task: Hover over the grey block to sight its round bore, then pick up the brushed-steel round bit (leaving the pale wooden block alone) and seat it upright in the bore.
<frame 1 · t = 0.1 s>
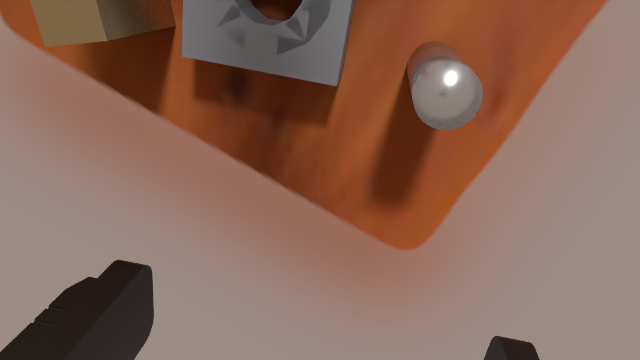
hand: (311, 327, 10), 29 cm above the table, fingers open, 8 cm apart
pale wooden block: (144, 0, 37), on the table
round bit: (432, 67, 36), on the table
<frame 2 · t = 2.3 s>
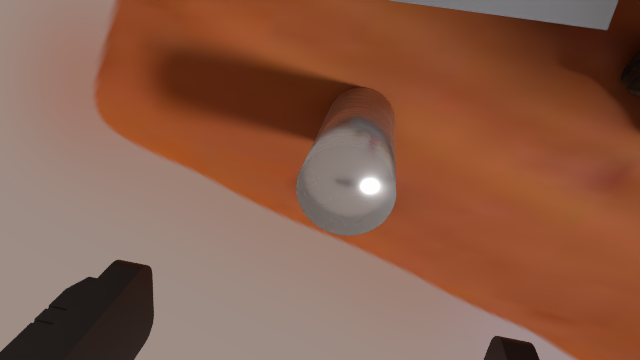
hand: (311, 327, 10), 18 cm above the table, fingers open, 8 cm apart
round bit: (360, 120, 27), on the table
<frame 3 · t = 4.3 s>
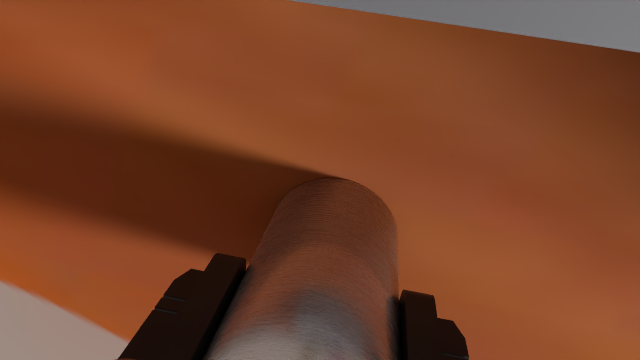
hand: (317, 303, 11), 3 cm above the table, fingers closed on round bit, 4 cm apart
round bit: (333, 235, 14), on the table, touching gripper
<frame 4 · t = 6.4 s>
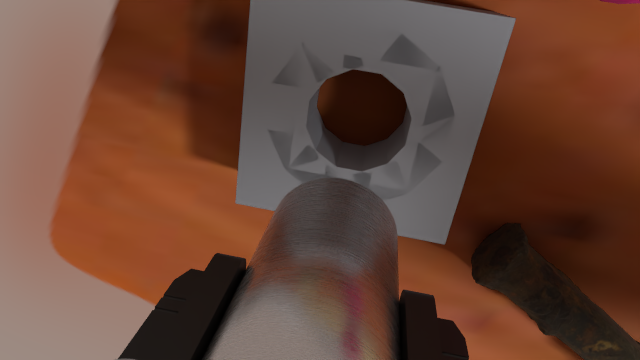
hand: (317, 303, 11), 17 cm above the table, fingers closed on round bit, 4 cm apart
hand tool: (588, 308, 30), on the table
bore block: (361, 102, 26), on the table
round bit: (333, 235, 14), point 14 cm above the table, touching gripper
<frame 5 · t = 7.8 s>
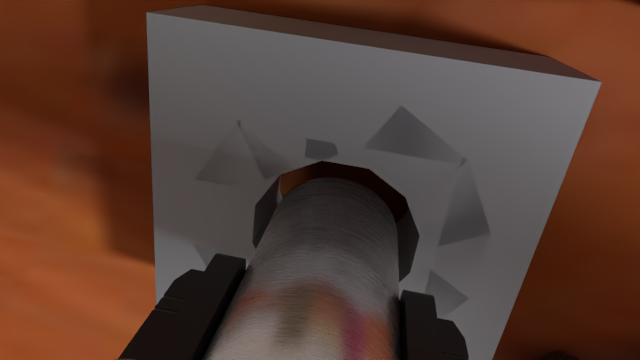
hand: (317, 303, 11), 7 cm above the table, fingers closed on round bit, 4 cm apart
bore block: (344, 186, 18), on the table
round bit: (333, 234, 14), point 4 cm above the table, touching gripper
when the fingers open (5 cm above the table, at t = 8.6 s): round bit drops 1 cm, resting in bore block.
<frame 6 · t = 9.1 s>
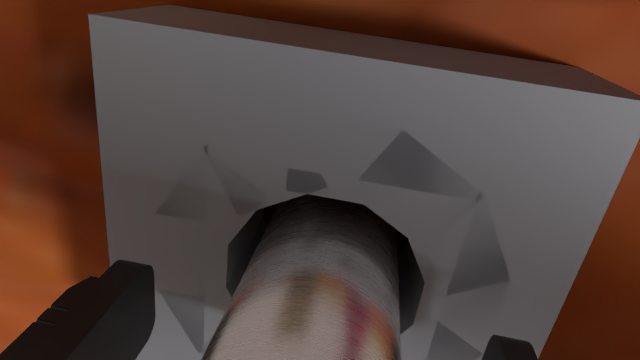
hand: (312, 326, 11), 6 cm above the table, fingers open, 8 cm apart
bore block: (337, 213, 16), on the table
round bit: (338, 213, 16), resting in bore block
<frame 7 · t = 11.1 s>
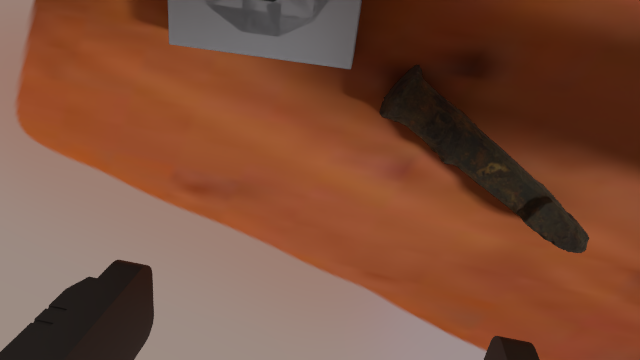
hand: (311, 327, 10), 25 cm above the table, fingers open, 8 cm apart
hand tool: (491, 151, 34), on the table
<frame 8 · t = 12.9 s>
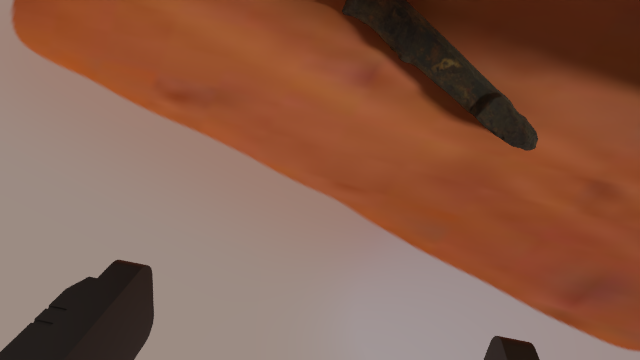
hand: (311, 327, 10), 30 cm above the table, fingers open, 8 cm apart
hand tool: (450, 59, 37), on the table
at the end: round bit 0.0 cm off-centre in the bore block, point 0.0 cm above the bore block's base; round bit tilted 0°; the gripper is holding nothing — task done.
